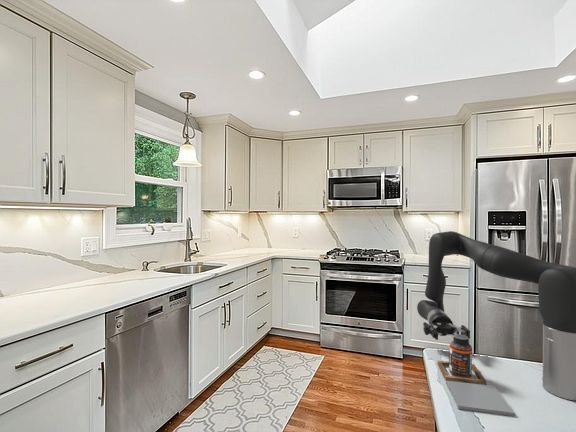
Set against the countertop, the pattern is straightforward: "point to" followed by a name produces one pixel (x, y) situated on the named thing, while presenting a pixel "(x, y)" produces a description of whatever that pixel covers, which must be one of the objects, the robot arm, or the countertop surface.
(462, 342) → the supplement bottle
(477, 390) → the plate
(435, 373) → the countertop surface
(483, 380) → the walnut frame
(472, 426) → the countertop surface
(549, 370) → the robot arm
